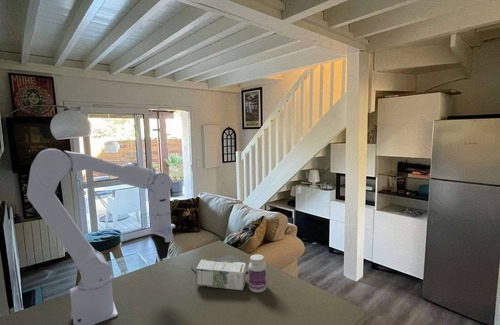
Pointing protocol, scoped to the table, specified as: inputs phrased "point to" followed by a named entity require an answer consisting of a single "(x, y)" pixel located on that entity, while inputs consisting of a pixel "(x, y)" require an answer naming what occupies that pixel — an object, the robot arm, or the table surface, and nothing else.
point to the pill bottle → (257, 273)
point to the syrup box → (221, 274)
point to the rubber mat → (226, 258)
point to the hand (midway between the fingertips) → (162, 257)
